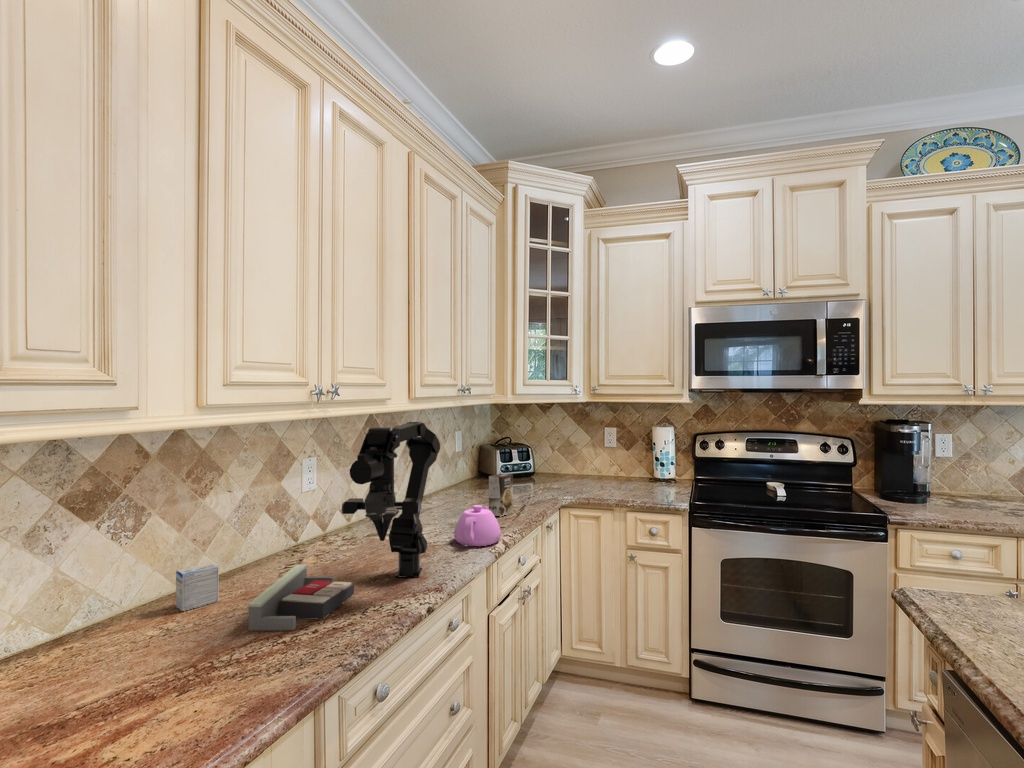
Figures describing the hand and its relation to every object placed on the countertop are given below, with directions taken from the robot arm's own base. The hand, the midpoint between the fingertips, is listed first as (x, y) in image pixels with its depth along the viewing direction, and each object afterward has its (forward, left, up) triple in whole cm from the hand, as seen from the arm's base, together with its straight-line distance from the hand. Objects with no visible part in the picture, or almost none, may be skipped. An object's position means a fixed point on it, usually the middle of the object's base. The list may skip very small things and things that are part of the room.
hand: (382, 540), depth 136 cm
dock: (+8, -19, -13) cm, 24 cm away
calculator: (+7, -13, -14) cm, 21 cm away
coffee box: (-85, +28, -13) cm, 90 cm away
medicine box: (+7, -42, -13) cm, 45 cm away
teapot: (-46, +21, -13) cm, 52 cm away
